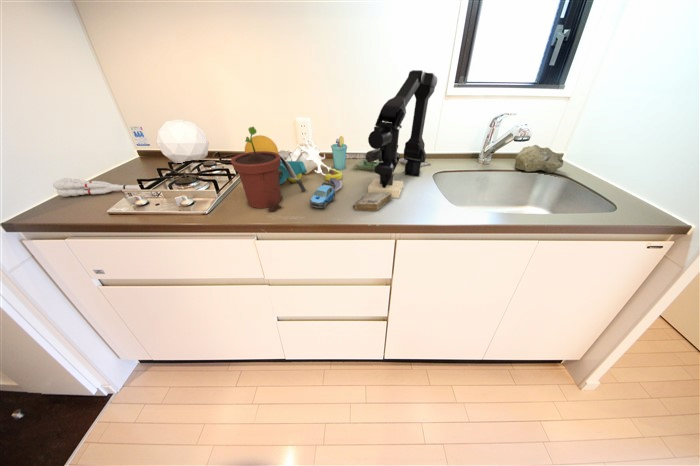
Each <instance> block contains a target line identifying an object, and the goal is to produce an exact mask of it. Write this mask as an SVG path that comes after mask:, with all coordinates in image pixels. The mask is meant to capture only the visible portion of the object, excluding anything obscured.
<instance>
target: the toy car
mask: <svg viewBox="0 0 700 466" xmlns="http://www.w3.org/2000/svg"><path fill="white" fill-rule="evenodd" d="M335 186H336V184H332V183H329V182H327V181H323V182H322V183H321V185H320V186H319V187H318V188H316V190H315V192H314V193H313V195H312V196H311V197H310V199H309V207H312V208H316V209H323V210H324V209H325V210H326V208H327V205H328V204H329V203H330V202H333V201H335V199H336V191H335V192H334V189H335Z"/></svg>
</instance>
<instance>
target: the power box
mask: <svg viewBox="0 0 700 466" xmlns="http://www.w3.org/2000/svg"><path fill="white" fill-rule="evenodd" d="M365 158H366V157H365ZM365 158H363V159H361V160H360V161H359V162H358V163H357V164H356V170H359V171H368V172H375V166H376V165H377V164H378V163H379V162H381V161H378V160H374V161H371V162H368V161H367V160H366V159H365Z"/></svg>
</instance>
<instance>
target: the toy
mask: <svg viewBox="0 0 700 466" xmlns="http://www.w3.org/2000/svg"><path fill="white" fill-rule="evenodd" d="M249 140H250V138H249ZM252 142H253V145H254V148H255V151H269V152H275V153H279V149H278V146H277V144H276V143H275V141H274V140H272V139H271V138H270V137H269V136H265V135H261V134H259V135H253V136H252ZM248 152H254V150H253V147H252V143H250V142H245V145H244V153H248Z"/></svg>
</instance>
